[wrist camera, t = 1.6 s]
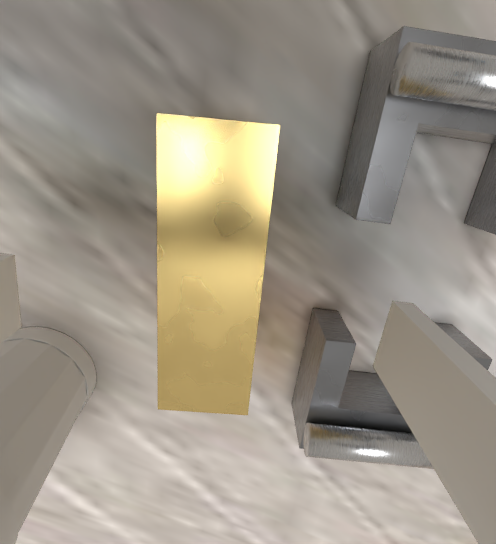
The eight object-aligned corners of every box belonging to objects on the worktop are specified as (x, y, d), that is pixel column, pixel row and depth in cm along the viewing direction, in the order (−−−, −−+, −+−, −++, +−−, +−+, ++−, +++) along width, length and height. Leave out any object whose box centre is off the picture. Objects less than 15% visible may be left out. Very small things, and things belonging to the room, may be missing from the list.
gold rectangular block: (186, 123, 17) (156, 113, 11) (268, 131, 17) (280, 125, 11) (181, 337, 21) (157, 409, 15) (247, 342, 21) (247, 415, 15)
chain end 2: (312, 308, 20) (333, 359, 15) (452, 324, 20) (516, 380, 16) (291, 403, 22) (304, 474, 18) (416, 416, 23) (462, 488, 18)
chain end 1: (370, 51, 15) (426, 9, 11) (547, 80, 16) (678, 51, 11) (335, 205, 18) (368, 228, 13) (490, 226, 18) (577, 256, 13)
